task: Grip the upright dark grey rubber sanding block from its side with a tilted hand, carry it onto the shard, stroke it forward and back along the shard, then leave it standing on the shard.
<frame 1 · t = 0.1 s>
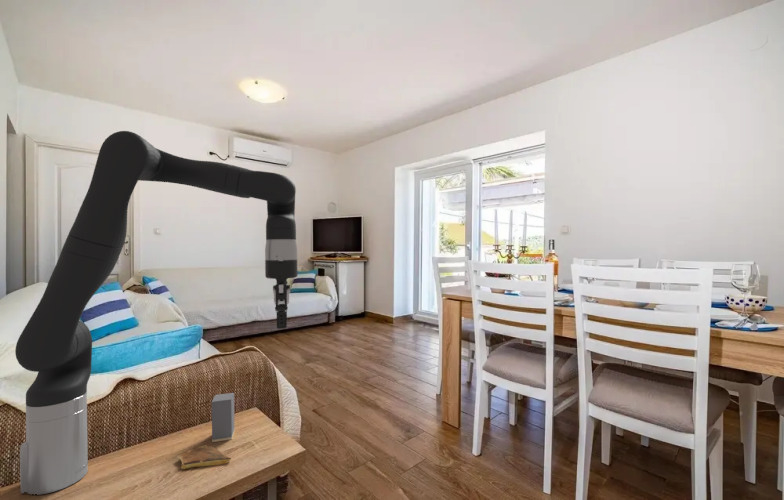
hand: (282, 324, 86), 29 cm above the table, tool pointing down, fingers open, 8 cm apart
shard: (206, 460, 81), on the table
sanding block: (223, 436, 90), on the table
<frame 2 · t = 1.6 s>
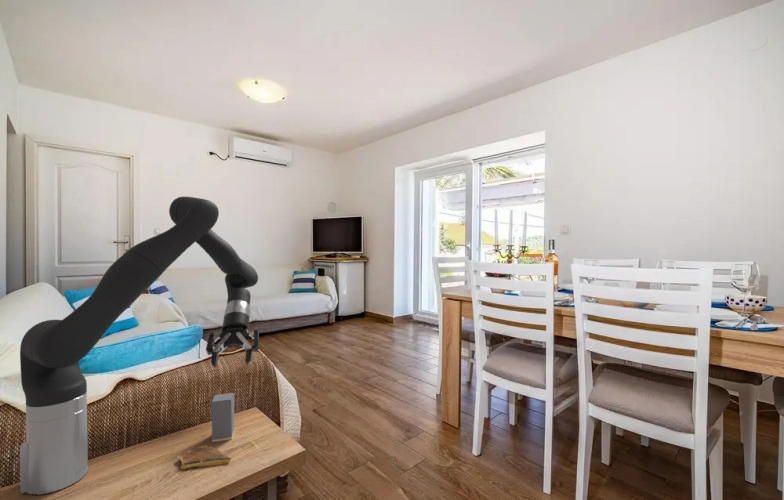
hand: (231, 364, 101), 15 cm above the table, tool tilted 45°, fingers open, 8 cm apart
nothing on the table moved.
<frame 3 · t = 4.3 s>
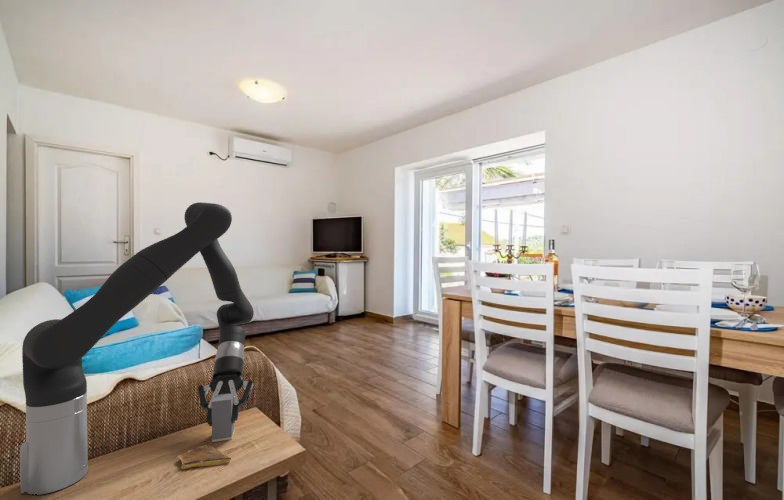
hand: (222, 423, 88), 4 cm above the table, tool tilted 45°, fingers closed on sanding block, 4 cm apart
sanding block: (223, 436, 90), on the table, touching gripper
everything else where it was.
when the fingers open (7 cm above the table, at t = 12.6 s): sanding block drops 1 cm, resting on shard.
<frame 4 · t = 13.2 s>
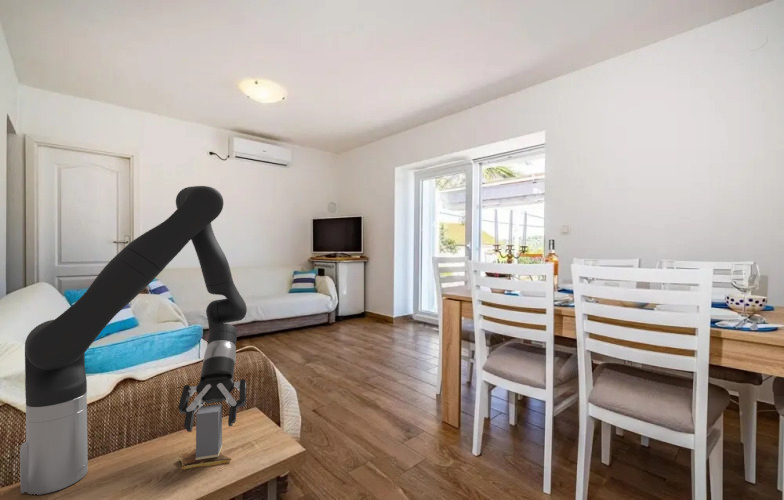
hand: (209, 427, 80), 7 cm above the table, tool tilted 45°, fingers open, 8 cm apart
shard: (207, 460, 81), on the table, touching sanding block
sanding block: (209, 453, 81), point 1 cm above the table, touching shard
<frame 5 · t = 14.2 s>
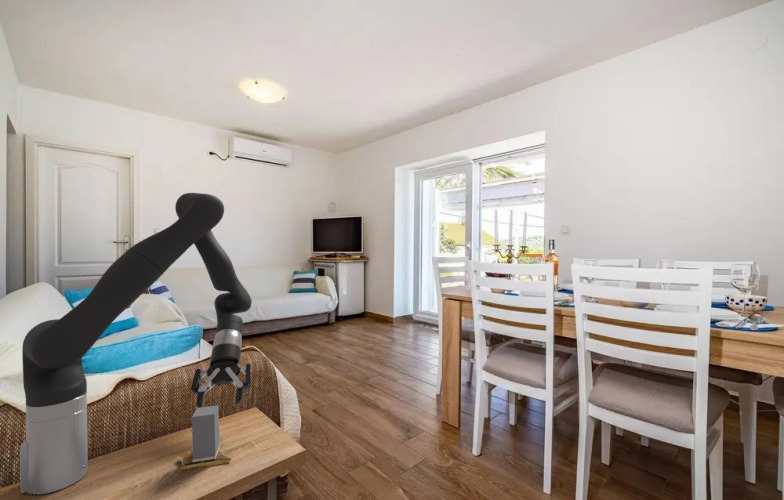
hand: (219, 406, 89), 8 cm above the table, tool tilted 45°, fingers open, 8 cm apart
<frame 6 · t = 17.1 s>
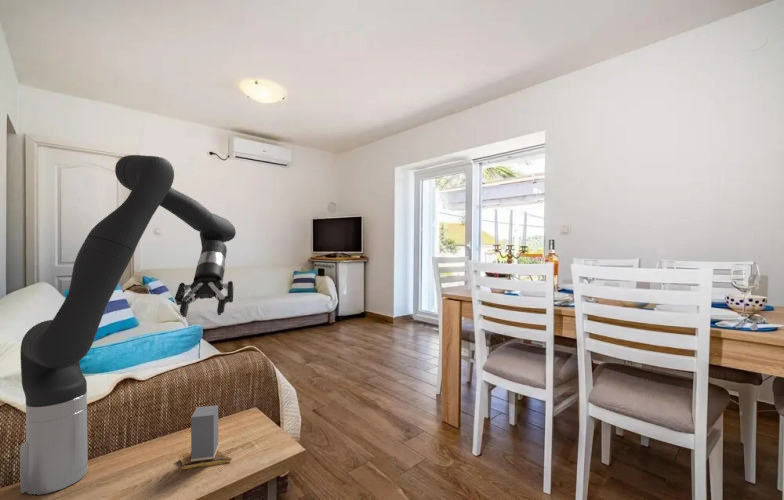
hand: (201, 314, 94), 31 cm above the table, tool tilted 45°, fingers open, 8 cm apart
shard: (207, 460, 81), on the table
sanding block: (205, 453, 80), point 1 cm above the table
at the end: sanding block inside the target area on the shard (1.0 cm from its centre), point 2.1 cm above the shard's base; sanding block touching shard; the gripper is holding nothing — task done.
